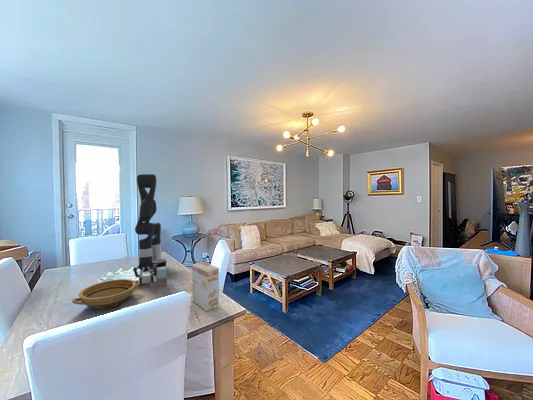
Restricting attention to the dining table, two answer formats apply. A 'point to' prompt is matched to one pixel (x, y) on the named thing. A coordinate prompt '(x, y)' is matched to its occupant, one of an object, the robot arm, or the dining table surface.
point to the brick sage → (146, 278)
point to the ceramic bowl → (106, 293)
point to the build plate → (154, 286)
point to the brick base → (161, 282)
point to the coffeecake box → (205, 285)
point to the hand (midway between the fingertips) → (146, 282)
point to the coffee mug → (159, 263)
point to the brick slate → (161, 272)
